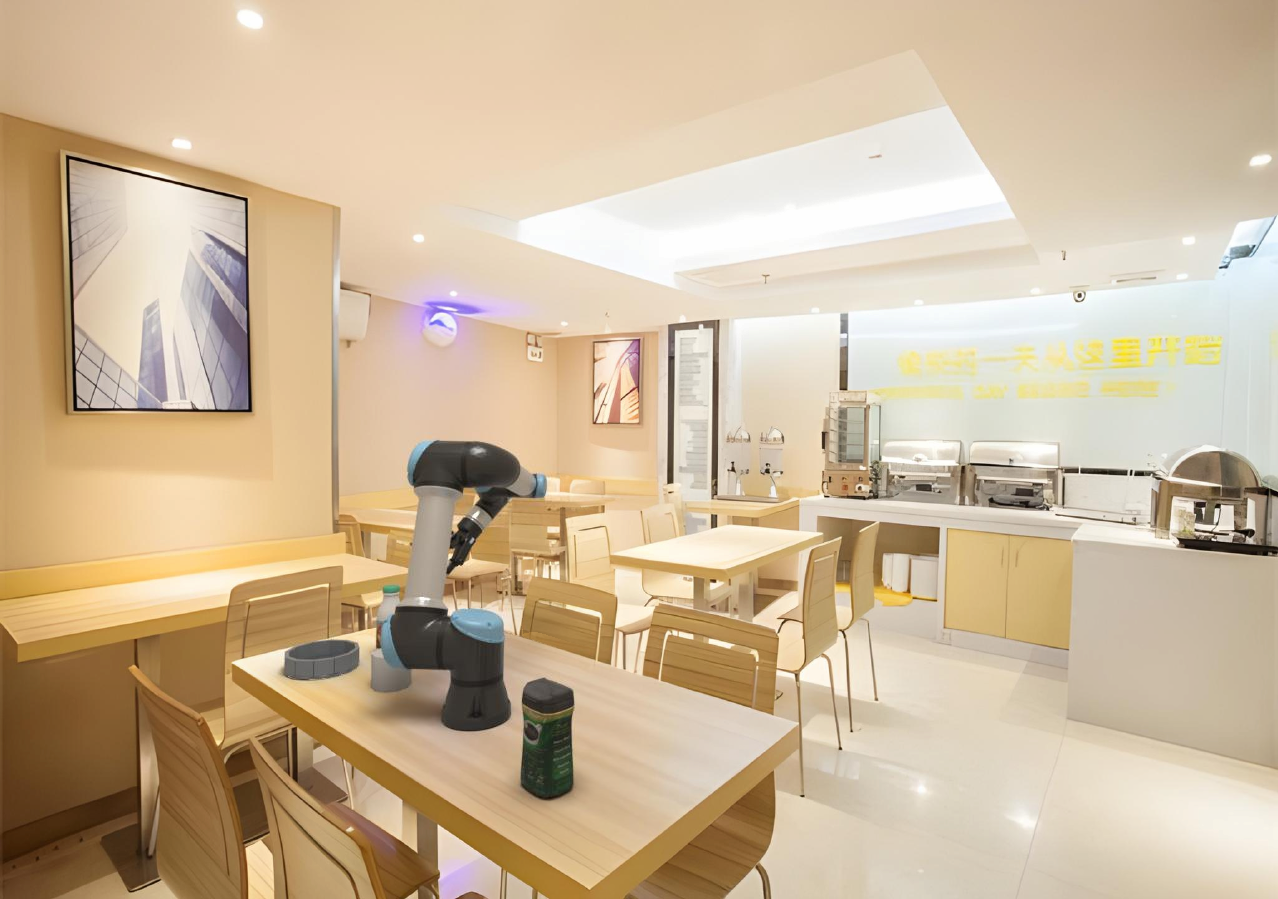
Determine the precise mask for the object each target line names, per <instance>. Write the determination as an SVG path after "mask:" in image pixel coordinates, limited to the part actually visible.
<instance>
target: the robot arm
mask: <svg viewBox="0 0 1278 899" xmlns="http://www.w3.org/2000/svg"><path fill="white" fill-rule="evenodd" d="M407 462H408V463H407V470H406V472H407V481H408V483H409V485H410V486H412V487H413V493H414V495H416V497H417V498H418V502H417V509H416V515H415V522H414V529H413V536H412V543H411V548H410V556H409V563H408V569H407V576H406V582H405V589H404V595H403V597H404V598H403V599H402V600H400V603H399V604H397V605H396V608H395V614H392V615H389V616H388V617H386V619H385V620H384V624H383V625H382V630H381V650H382V654H383V657H384V659H385V661H386V663H387V664H388V665H389V666H391V667H393V668H402V669H406V670H411V669H412V670H424V671H425V670H426V671H427V670H428V671H430V670H431V671H450V672H449V673H450V674H449V675H450V682H449V688H448V690H447V694H446V697H445V702H444V703H443V705H442V708H441V722H442V723H443V724H444V725H445V726H446V727H448V728H450V729H454V730H459V731H478V730H486V729H491V728H493V727H495V726H496V727H497V726H498V725H501V724H503V723H505V722H506V721H507V720H508V719H510V716H511V714H512V703H511V700H510V698H509V695H508V691H507V687H506V683H505V681H504V668H505V666H504V665H505V664H504V663H505V657H504V655H505V639H506V636H505V629H504V628H505V627H504V620H503V617H501V616H500V615H499V614H497V613H495V612H494V611H491V610H488V609H484V608H483V609H482V608H474V607H473V608H471V607H470V608H460V609H456V610H454V611H453V612H452V613H451V615H450V616H448V614H449V608H448V606H446V604H445V603H444V601H443V599H444V594H445V593H444V591H445V584H446V579H447V578H448V577H449V575H451V573H452V572H453V571H454V570H455V568H457V567H459V566H460V567H462V566H463V565H464V563H465V562H466V559H467V558H468V555H469V554H470V551H471V550H472V548H473V546H474V544H475V543H476V542H477V540H478V538H479V537H480V536H481V534H482V533H483V531H484V530H486V528H487V527H490V524H491V522H493V520H494V519H495V517H497V516H498V514H499V513H501V511H502V510H503V509H504V507H506V506H507V504H508V503H509V501H510V500H511V499H512V498H513V499H514V498H516V499H518V498H521V499H534V500H535V499H544V498H545V497H546V495H547V489H548V484H547V483H548V481H547V476H546V475H545V474H543V473H531V472H530V471H529V470H528V469H526V468H525V467H524V466H522V465H521V463H520V461H519V459H518V458H517V457H516V456H515V454H513V453H511V452H510V451H509V450H507V449H504V448H503V447H500V446H497V445H495V444H492V443H488V442H485V441H477V440H475V441H474V440H472V441H471V440H470V441H467V440H440V439H435V440H425V441H420V442H419V443H418V444H417V445H415V447H414V448H413V449H412V451H411V452H410V454H409V458H408V461H407ZM464 489H474V491H475V492H476V494H477V496H478V500H477V502H476V503H475V504H474V505H472V507H471V508H470V509H469V510H468V511H467V512H466V514H465V516H463V517H462V518H461V520H460V521H459V522H458V523H456V524H457V525H456V527H457V531H456V532H454V530H453V524H454V523H453V521H454V515H455V510H456V509H455V507H456V503H457V502H458V501H459V500H460V499H461V498H463V496H464ZM450 550H454V551H453V554H452V557H451V558H449V554H450Z"/></svg>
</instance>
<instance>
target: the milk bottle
mask: <svg viewBox="0 0 1278 899" xmlns="http://www.w3.org/2000/svg"><path fill="white" fill-rule="evenodd" d="M400 589H401V588H400V585H399V584H388V585H383V586H382V595H383V596H382V601H381V604H380V605H379V607H378V609H377V614H376V620H375V621H376V624H375V625H376V626H375V629H376V630H375V650H377V649H380V648H381V630H382V625H383V624H384V620H385V619H386V617H388V616H389V615H392V614H395V608H396V605H397V604H399V603H400V602H401V599H400V596H399V594H400Z"/></svg>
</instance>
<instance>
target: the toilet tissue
mask: <svg viewBox="0 0 1278 899" xmlns="http://www.w3.org/2000/svg"><path fill="white" fill-rule="evenodd" d="M370 656H371V657H370V658H371V659H370V660H371V662H370V664H371V665H370V667H371V668H370V669H371V670H370V688H371V689H372V691H373V692H376V693H383V694H387V693H396V692H400V691H403V690H406V689H408V688H409V687H410V686H411V684H412V672H413V669H411V670H406V669H402V668H393V667H391V666H389V665H388V664H387V663H386V661H385V659H384V657H383V654H382V650H381V648H380V649H377V650H376V649H375V650H374V651H373V652H372V653H371V655H370ZM402 689H403V690H402Z"/></svg>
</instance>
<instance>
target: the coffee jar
mask: <svg viewBox="0 0 1278 899" xmlns="http://www.w3.org/2000/svg"><path fill="white" fill-rule="evenodd" d="M574 694H575V693H574V689H573V688H571V687H569V686H566V685H564V684H561V683H559V682H557V681H554V680H550V679H547V678H546V677H541V678H537V679H533V680H531V681H527V682H526V684H525V685H524V687H523V689H522V695H521V696H522V697H521V710H522V720H523V728H522V729H523V731H522V732H523V735H522V749H521V750H522V751H521V752H522V753H521V763H520V764H521V765H520V782H521V785H522V786H524V788H526V789H527V790H528V791H529V792H531V793H533V794H535V795H536V796H539V797H542V798H550V797H557V796H558V797H559V796H560V795H562V794H564V793H566V792H567V791H568V790H570V789H571V788H572V787H573V785H574V756H573V734H572V733H573V731H572V730H573V728H572V726H573V725H572V724H573V715H574V711H575V706H576V705H575V695H574Z"/></svg>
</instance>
